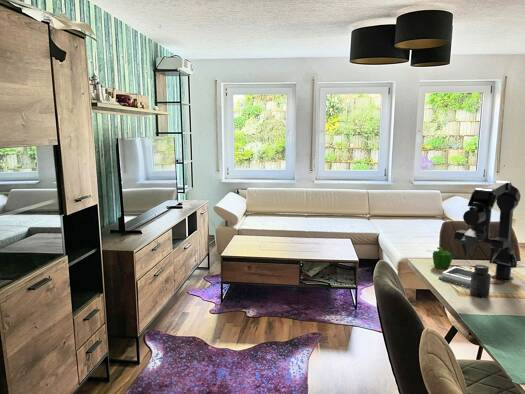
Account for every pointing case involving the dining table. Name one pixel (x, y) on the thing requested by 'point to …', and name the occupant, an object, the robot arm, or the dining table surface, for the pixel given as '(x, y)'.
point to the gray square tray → (457, 276)
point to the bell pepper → (442, 258)
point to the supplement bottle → (480, 282)
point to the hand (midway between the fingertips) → (478, 260)
